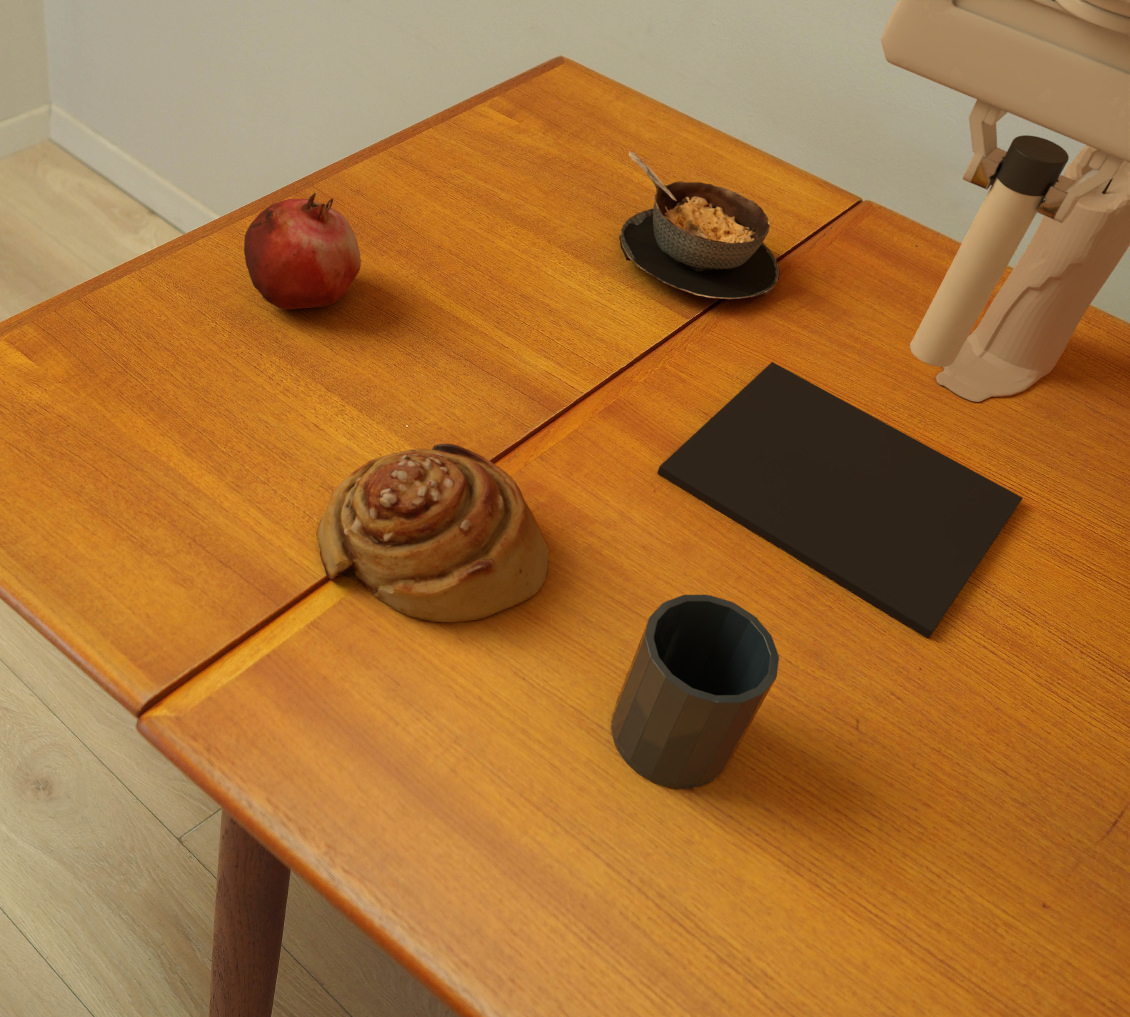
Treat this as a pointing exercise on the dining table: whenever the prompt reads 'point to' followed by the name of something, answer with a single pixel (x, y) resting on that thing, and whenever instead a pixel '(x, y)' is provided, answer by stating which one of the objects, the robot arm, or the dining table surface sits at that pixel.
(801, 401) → the mat
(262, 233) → the fruit
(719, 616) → the pen cup
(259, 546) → the dining table surface
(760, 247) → the soup bowl
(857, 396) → the dining table surface
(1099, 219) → the candle
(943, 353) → the marker
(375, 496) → the pastry
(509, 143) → the dining table surface
